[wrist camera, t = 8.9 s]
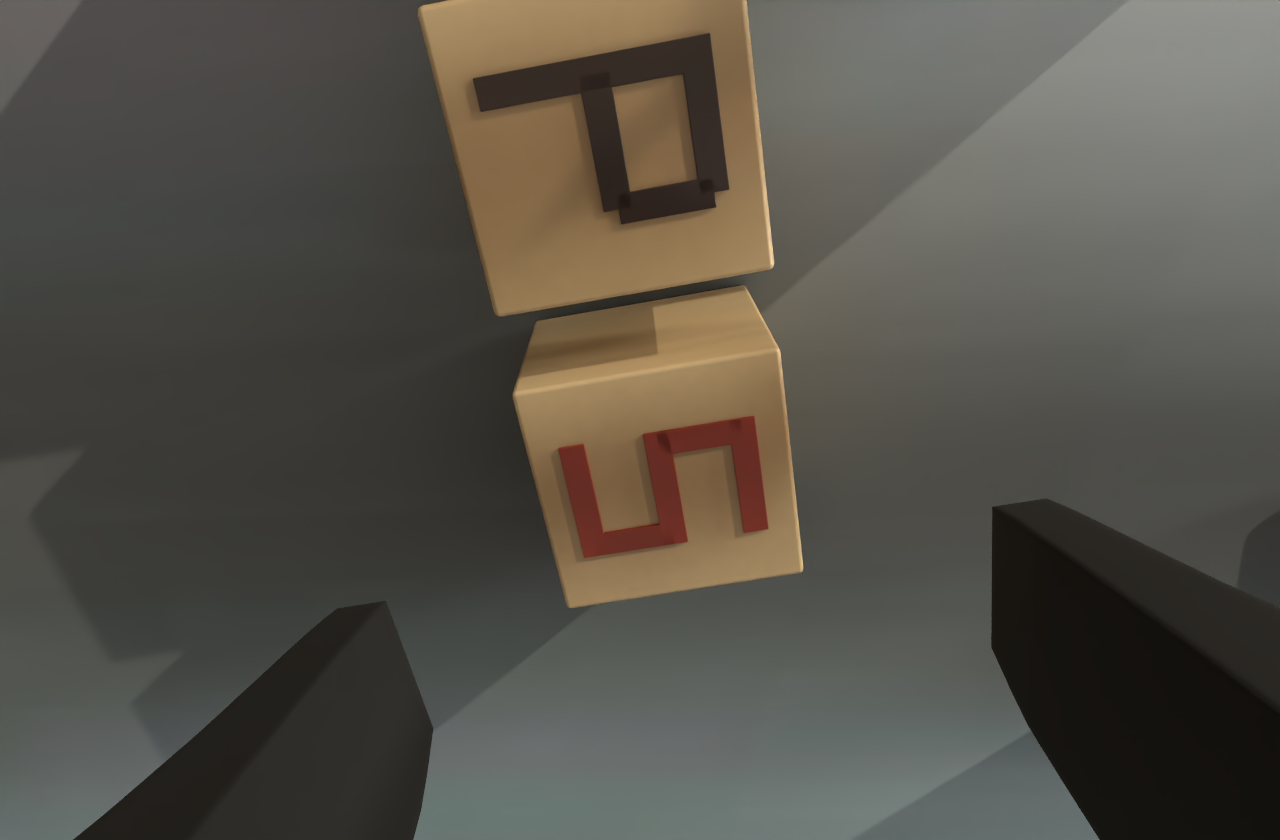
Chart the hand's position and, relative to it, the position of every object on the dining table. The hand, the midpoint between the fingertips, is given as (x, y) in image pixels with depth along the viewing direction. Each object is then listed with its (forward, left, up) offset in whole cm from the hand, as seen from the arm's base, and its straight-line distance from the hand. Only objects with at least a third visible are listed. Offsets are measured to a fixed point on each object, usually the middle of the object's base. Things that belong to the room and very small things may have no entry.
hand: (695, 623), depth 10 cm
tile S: (0, 0, -7) cm, 7 cm away
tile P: (+5, 0, -7) cm, 9 cm away
